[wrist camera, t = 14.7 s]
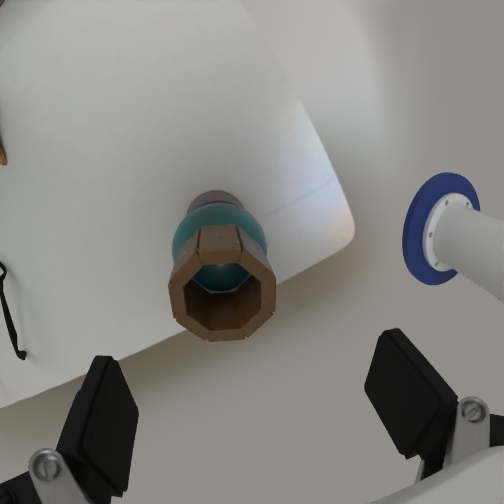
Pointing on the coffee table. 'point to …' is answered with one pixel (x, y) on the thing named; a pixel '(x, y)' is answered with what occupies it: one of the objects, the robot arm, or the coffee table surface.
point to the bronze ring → (228, 303)
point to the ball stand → (218, 213)
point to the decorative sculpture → (2, 158)
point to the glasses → (9, 318)
